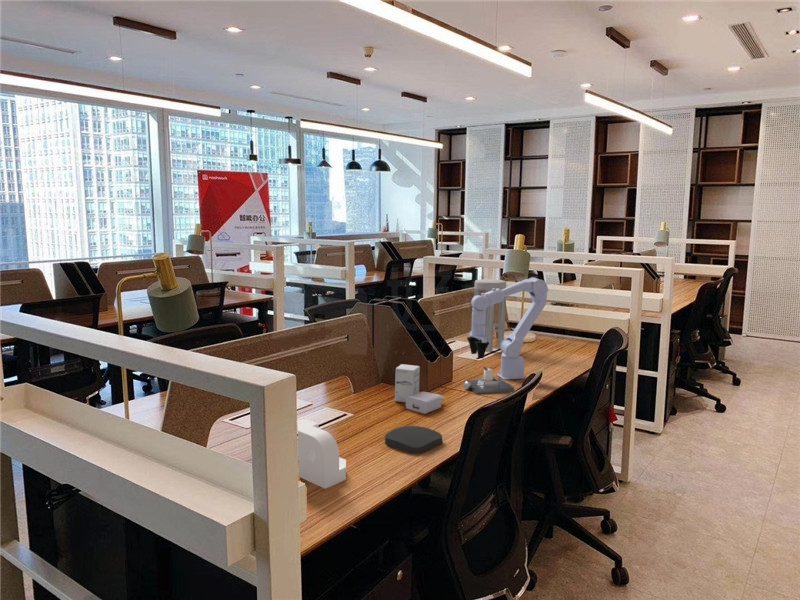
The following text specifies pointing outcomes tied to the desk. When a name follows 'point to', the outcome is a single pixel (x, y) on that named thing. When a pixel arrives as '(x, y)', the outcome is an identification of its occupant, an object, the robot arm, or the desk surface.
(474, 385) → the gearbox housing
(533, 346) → the desk surface
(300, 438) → the tape dispenser
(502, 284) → the stool
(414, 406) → the charger
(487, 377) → the spout can
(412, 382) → the supplement box
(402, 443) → the media streaming box
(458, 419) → the desk surface
